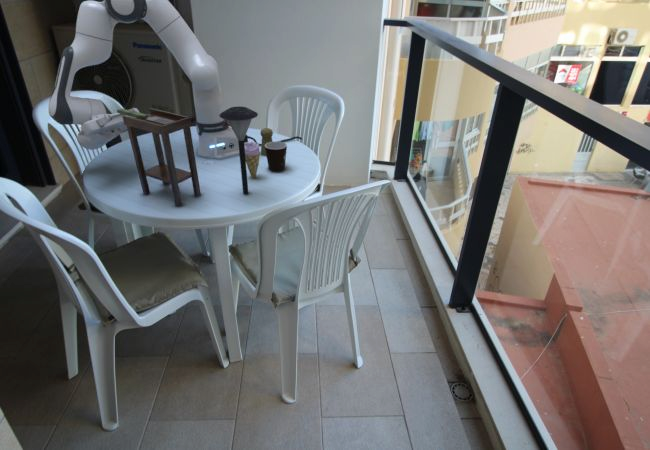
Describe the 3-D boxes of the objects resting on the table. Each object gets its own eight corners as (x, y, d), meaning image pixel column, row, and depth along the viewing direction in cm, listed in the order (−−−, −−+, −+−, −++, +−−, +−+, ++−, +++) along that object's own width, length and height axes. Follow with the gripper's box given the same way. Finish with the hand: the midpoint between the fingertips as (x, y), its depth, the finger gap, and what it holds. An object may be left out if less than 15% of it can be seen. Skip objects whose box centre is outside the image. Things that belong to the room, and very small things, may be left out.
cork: (272, 156, 169) (271, 132, 163) (258, 155, 170) (257, 130, 164) (276, 151, 174) (275, 127, 168) (263, 150, 175) (262, 126, 169)
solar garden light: (247, 182, 147) (240, 101, 131) (270, 193, 140) (265, 109, 124) (221, 193, 139) (210, 109, 123) (243, 205, 132) (235, 117, 116)
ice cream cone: (246, 182, 147) (243, 144, 139) (241, 176, 152) (238, 138, 144) (263, 179, 150) (261, 141, 142) (258, 173, 154) (255, 136, 146)
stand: (141, 194, 137) (122, 116, 122) (166, 182, 145) (151, 107, 130) (178, 208, 130) (162, 126, 115) (202, 194, 138) (190, 117, 123)
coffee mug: (278, 175, 153) (277, 151, 148) (261, 169, 157) (260, 146, 152) (296, 165, 162) (295, 142, 156) (279, 160, 165) (278, 137, 160)
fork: (115, 113, 129) (114, 110, 129) (124, 110, 132) (123, 107, 131) (166, 126, 120) (165, 123, 119) (175, 123, 122) (174, 120, 122)
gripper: (71, 127, 131) (87, 112, 122) (124, 112, 146) (142, 98, 137) (82, 144, 132) (98, 131, 124) (133, 128, 147) (151, 115, 139)
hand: (122, 113), depth 131 cm, fingers open, 8 cm apart
